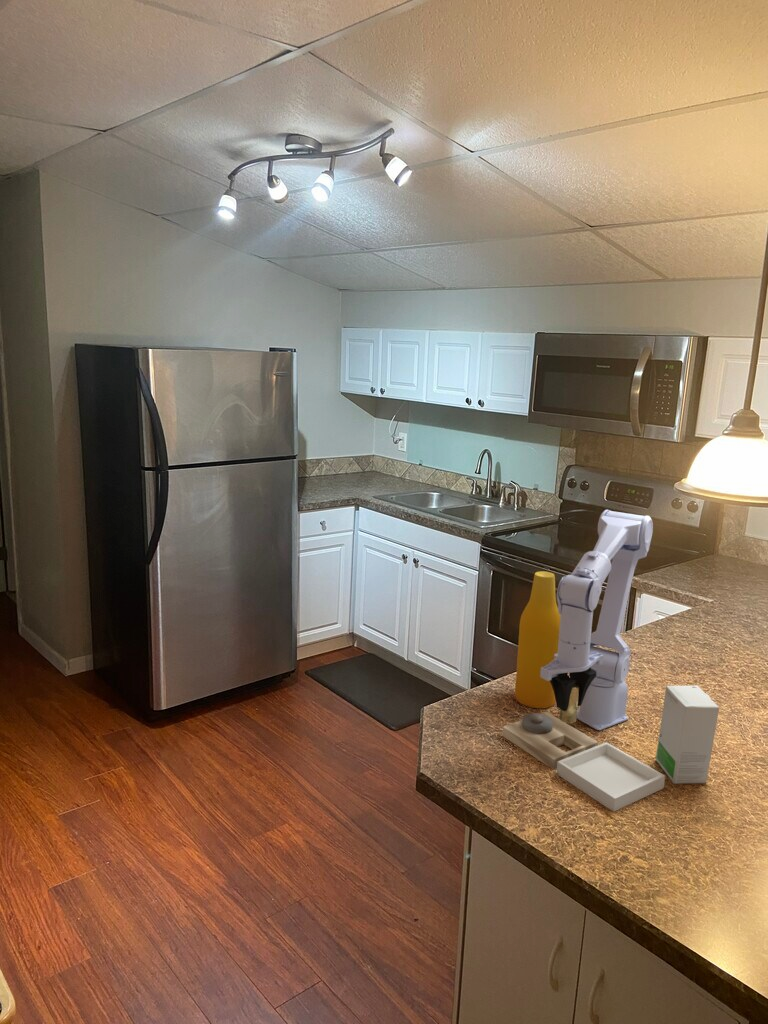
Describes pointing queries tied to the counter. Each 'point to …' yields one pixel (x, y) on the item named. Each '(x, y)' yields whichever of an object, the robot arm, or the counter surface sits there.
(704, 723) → the skincare box
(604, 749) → the tray
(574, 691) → the lock pin
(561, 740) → the tensioner bracket
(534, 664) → the beer bottle
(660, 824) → the counter surface
